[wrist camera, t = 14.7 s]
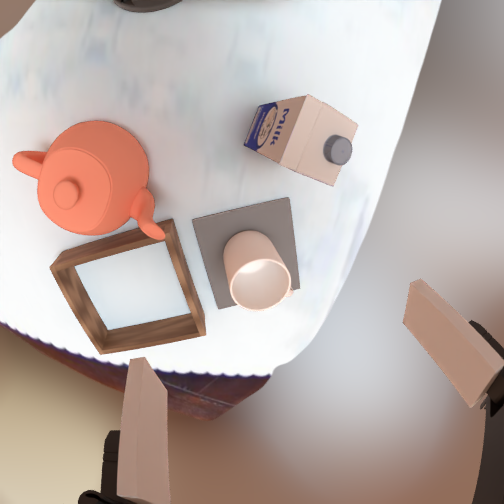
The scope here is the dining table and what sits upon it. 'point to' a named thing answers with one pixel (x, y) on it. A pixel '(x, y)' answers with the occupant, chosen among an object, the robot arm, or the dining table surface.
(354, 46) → the dining table surface
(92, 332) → the walnut caddy
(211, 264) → the slate trivet
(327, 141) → the milk carton
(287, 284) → the mug
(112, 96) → the dining table surface
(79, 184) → the teapot
